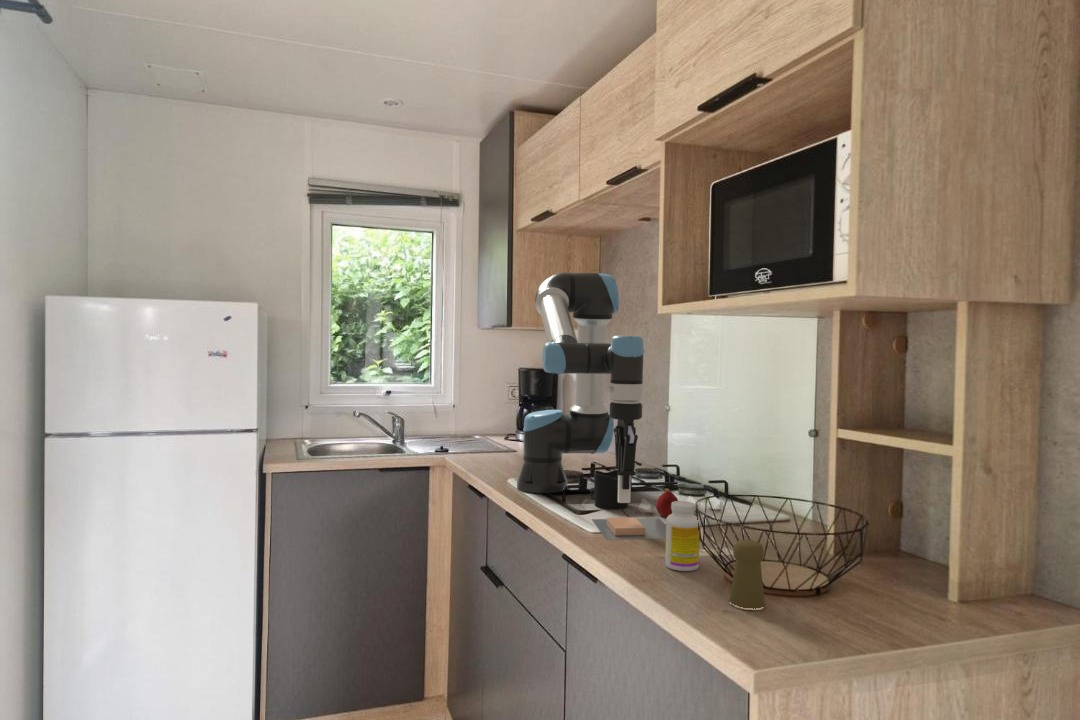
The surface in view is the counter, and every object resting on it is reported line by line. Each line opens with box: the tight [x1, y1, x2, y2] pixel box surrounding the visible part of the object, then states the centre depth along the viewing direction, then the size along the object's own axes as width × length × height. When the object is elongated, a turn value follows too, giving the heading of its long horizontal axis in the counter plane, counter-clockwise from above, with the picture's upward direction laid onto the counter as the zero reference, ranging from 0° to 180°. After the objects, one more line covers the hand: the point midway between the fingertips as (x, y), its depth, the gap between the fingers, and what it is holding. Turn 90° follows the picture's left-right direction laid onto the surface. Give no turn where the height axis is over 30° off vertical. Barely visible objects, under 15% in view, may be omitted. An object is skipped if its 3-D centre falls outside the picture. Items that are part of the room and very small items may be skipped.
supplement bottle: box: [664, 500, 701, 572], centre depth 140 cm, size 7×7×13 cm
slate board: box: [591, 517, 666, 541], centre depth 164 cm, size 17×17×1 cm
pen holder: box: [593, 469, 629, 511], centre depth 186 cm, size 9×9×10 cm
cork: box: [729, 539, 766, 609], centre depth 121 cm, size 6×6×11 cm
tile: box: [605, 517, 646, 536], centre depth 162 cm, size 2×7×9 cm
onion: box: [655, 488, 679, 518], centre depth 176 cm, size 6×6×8 cm
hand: (623, 502), depth 164 cm, fingers closed
